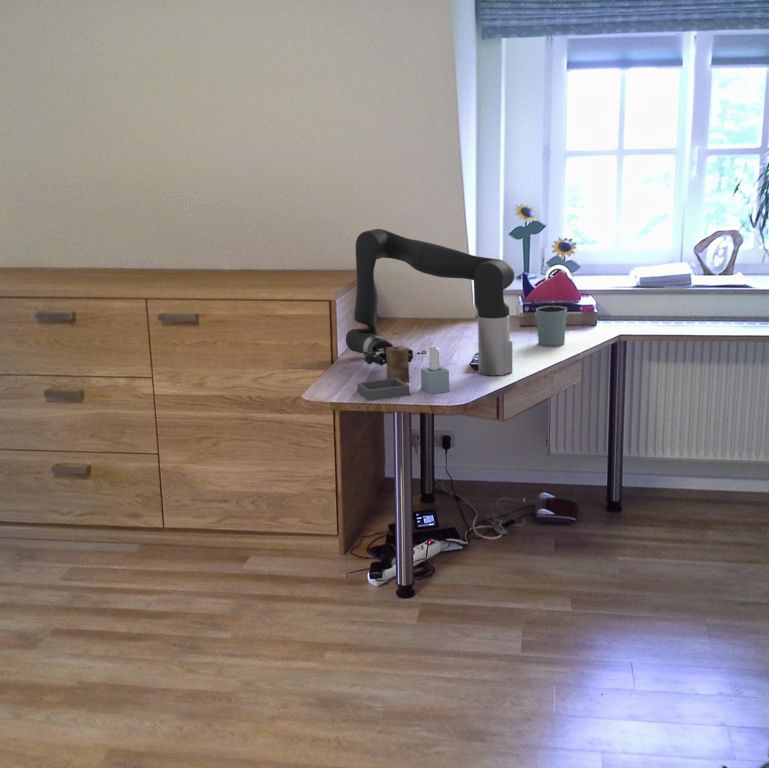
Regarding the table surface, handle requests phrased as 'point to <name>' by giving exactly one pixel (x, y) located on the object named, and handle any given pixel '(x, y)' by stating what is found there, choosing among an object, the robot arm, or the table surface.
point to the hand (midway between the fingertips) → (396, 360)
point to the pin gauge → (434, 359)
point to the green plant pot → (551, 325)
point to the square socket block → (435, 380)
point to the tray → (383, 388)
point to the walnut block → (397, 363)
